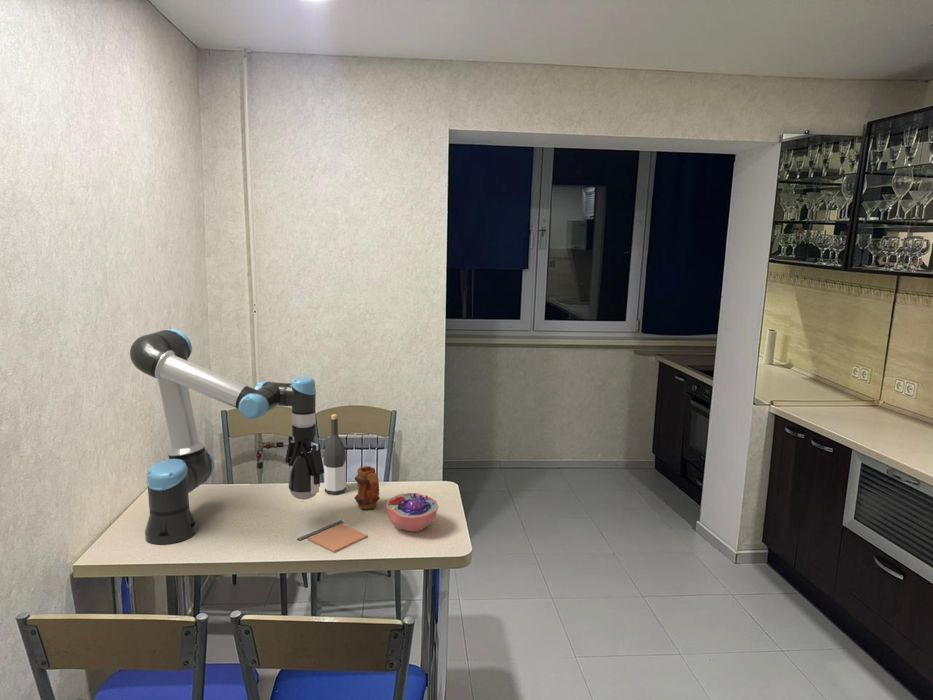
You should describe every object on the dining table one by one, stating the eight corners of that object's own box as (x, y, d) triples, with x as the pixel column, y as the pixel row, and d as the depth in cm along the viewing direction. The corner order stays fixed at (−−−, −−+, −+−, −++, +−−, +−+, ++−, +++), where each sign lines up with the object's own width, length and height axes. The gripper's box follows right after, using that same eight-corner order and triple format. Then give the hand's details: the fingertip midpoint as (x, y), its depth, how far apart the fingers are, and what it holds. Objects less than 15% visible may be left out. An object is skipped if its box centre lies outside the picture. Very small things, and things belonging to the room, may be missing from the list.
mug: (352, 503, 238) (351, 464, 235) (373, 500, 241) (373, 461, 239) (365, 519, 225) (364, 478, 222) (387, 515, 229) (387, 474, 226)
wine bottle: (324, 487, 252) (323, 412, 247) (346, 486, 254) (345, 411, 248) (324, 495, 244) (322, 418, 239) (346, 494, 246) (345, 417, 241)
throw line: (297, 539, 209) (296, 538, 209) (340, 521, 223) (340, 520, 223) (299, 541, 208) (299, 539, 208) (343, 522, 222) (343, 521, 222)
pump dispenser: (318, 502, 214) (317, 458, 211) (285, 502, 213) (285, 458, 211) (322, 490, 224) (322, 448, 221) (291, 490, 223) (291, 447, 221)
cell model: (428, 512, 232) (428, 481, 230) (443, 537, 213) (444, 504, 211) (381, 517, 227) (381, 486, 225) (392, 543, 208) (392, 510, 206)
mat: (307, 540, 209) (307, 538, 209) (341, 525, 220) (341, 523, 220) (334, 552, 201) (334, 551, 201) (367, 537, 212) (367, 535, 212)
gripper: (335, 429, 210) (335, 494, 214) (292, 415, 224) (292, 476, 228) (316, 434, 204) (317, 501, 208) (273, 419, 218) (274, 482, 222)
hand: (304, 488), depth 218 cm, fingers closed on pump dispenser, 10 cm apart
